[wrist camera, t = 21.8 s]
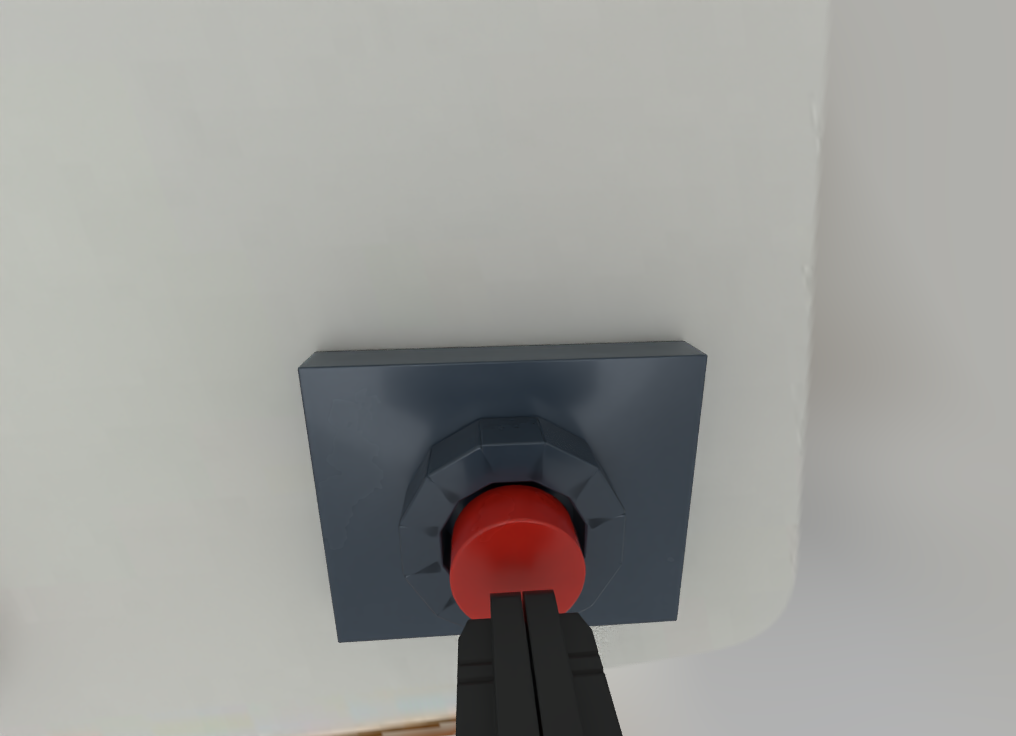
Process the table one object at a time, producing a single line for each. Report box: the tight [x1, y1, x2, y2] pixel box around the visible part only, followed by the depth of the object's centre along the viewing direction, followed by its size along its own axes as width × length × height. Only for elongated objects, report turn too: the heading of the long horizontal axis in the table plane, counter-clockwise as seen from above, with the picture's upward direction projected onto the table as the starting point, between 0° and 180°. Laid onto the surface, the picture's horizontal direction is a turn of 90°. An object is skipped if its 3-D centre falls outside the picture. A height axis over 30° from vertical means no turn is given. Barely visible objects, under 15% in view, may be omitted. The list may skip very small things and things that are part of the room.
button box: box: [298, 341, 707, 643], centre depth 16 cm, size 12×10×4 cm
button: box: [450, 485, 586, 619], centre depth 14 cm, size 4×4×2 cm
